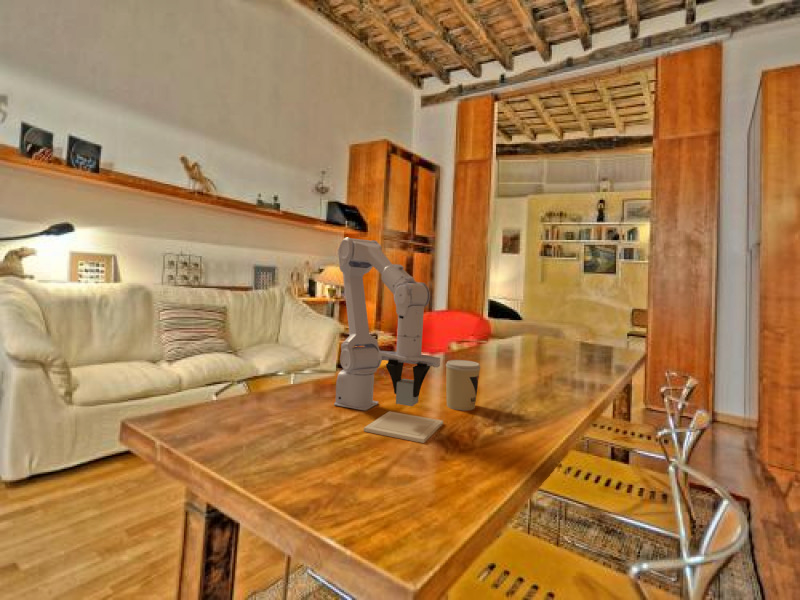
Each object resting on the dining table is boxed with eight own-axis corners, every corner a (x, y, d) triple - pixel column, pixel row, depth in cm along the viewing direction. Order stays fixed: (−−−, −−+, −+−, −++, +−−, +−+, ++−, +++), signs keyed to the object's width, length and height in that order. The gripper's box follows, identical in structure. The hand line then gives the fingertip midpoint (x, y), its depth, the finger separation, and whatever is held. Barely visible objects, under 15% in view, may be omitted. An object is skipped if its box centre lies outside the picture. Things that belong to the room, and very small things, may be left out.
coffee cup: (477, 413, 116) (480, 367, 115) (441, 409, 118) (444, 364, 117) (478, 403, 125) (481, 361, 124) (445, 400, 127) (447, 358, 126)
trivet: (363, 431, 98) (363, 427, 98) (389, 414, 111) (389, 410, 111) (423, 443, 92) (423, 439, 92) (442, 423, 105) (443, 420, 105)
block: (395, 403, 101) (396, 381, 100) (402, 399, 104) (403, 378, 104) (412, 406, 99) (413, 384, 99) (418, 402, 103) (419, 380, 103)
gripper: (373, 334, 99) (370, 393, 100) (434, 340, 94) (431, 403, 95) (386, 331, 106) (383, 387, 107) (444, 337, 101) (440, 396, 101)
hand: (406, 394), depth 101 cm, fingers closed on block, 4 cm apart
